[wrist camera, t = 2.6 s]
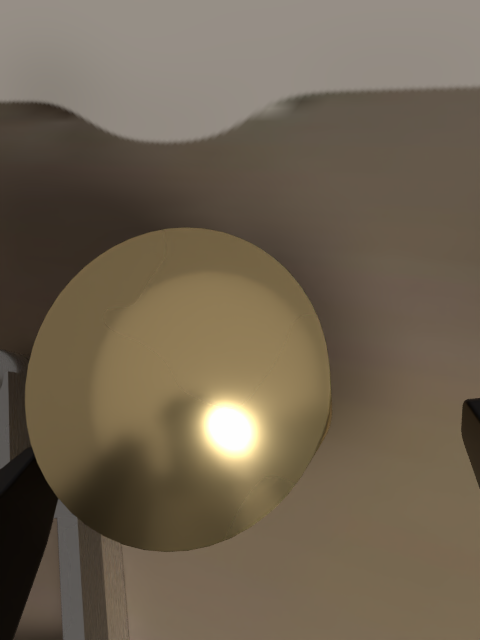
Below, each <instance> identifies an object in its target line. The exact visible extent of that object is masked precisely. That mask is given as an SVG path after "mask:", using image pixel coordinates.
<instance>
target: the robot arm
mask: <svg viewBox="0 0 480 640" xmlns="http://www.w3.org/2000/svg"><path fill="white" fill-rule="evenodd" d="M461 432H462V438H463V442H464V445H465V448H466V451H467V453H468V456H469V459H470V462H471V465H472V468H473V471H474V473H475V476H476V479H477V482H478V485H479V488H480V398H475V399H467V400H465V401H464V403H463V409H462V426H461ZM57 502H58V497H57V496H56V494H55V493H54V491H53V490H52V488H51V487H50V486H49V484H48V483H47V481H46V479H45V477H44V475H43V473H42V471H41V469H40V467H39V465H38V463H37V460H36V457H35V455H34V452H33V449H32V446H30V447H28V448H26V449H25V450H24V451H23V452H21V453H20V454H19V455H18V456H16V457H15V458H14V459H13V460H11V461H10V462H9V463H8V464H6V465H5V466H4V467H3V468H1V469H0V640H13V638H14V636H15V633H16V630H17V627H18V624H19V622H20V619H21V616H22V613H23V610H24V607H25V605H26V602H27V599H28V596H29V593H30V590H31V588H32V585H33V582H34V579H35V576H36V573H37V571H38V568H39V565H40V562H41V559H42V557H43V554H44V551H45V548H46V544H47V541H48V537H49V534H50V530H51V526H52V522H53V518H54V514H55V510H56V506H57Z"/></svg>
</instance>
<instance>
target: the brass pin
mask: <svg viewBox="0 0 480 640" xmlns="http://www.w3.org/2000/svg"><path fill="white" fill-rule="evenodd" d="M25 411H26V422H27V428H28V433H29V438H30V442H31V446H32V449H33V452H34V455H35V457H36V460H37V463H38V465H39V467H40V469H41V471H42V473H43V475H44V477H45V479H46V481H47V483H48V484H49V486H50V487H51V488H52V490H53V491H54V493H55V494H56V496H57V497H58V499H59V500H60V501H61V502H62V503H63V504H64V505H65V506H66V507H67V509H68V510H69V511H70V512H71V513H72V514H73V515H75V516H76V517H77V518H78V519H79V520H81V521H82V522H83V523H84V524H85V525H87V526H88V527H90V528H91V529H93V530H95V531H96V532H98V533H100V534H101V535H103V536H104V537H107V538H109V539H111V540H114V541H116V542H119V543H121V544H123V545H127V546H131V547H135V548H139V549H143V550H151V551H161V552H174V551H189V550H193V549H198V548H203V547H207V546H211V545H214V544H216V543H219V542H222V541H224V540H227V539H230V538H232V537H234V536H236V535H237V534H239V533H241V532H243V531H245V530H247V529H248V528H250V527H252V526H253V525H254V524H256V523H257V522H258V521H260V520H261V519H262V518H264V517H265V516H266V515H268V514H269V513H270V512H271V511H272V510H273V509H274V508H275V507H276V506H277V505H278V504H279V503H280V502H281V501H282V500H283V499H284V498H285V497H286V496H287V495H288V494H289V492H290V491H291V490H292V488H293V487H294V486H295V484H296V483H297V482H298V480H299V479H300V478H301V476H302V475H303V473H304V471H305V470H306V468H307V466H308V465H309V463H310V461H311V460H312V458H313V456H314V455H315V453H316V451H317V450H318V448H319V446H320V445H321V443H322V441H323V440H324V438H325V436H326V434H327V433H328V430H329V427H330V424H331V419H332V399H331V382H330V365H329V359H328V352H327V346H326V341H325V338H324V334H323V331H322V328H321V324H320V321H319V319H318V317H317V315H316V313H315V310H314V308H313V306H312V304H311V302H310V300H309V299H308V297H307V296H306V294H305V292H304V291H303V289H302V288H301V286H300V285H299V284H298V282H297V281H296V280H295V279H294V278H293V276H292V275H291V274H290V273H289V272H288V271H287V270H286V269H285V268H284V267H283V266H282V265H281V264H280V263H279V262H278V261H276V260H275V259H274V258H273V257H272V256H270V255H269V254H267V253H266V252H264V251H263V250H261V249H260V248H258V247H257V246H255V245H253V244H251V243H249V242H247V241H245V240H243V239H241V238H239V237H236V236H233V235H230V234H227V233H224V232H220V231H214V230H209V229H204V228H186V227H185V228H171V229H163V230H158V231H153V232H149V233H146V234H143V235H139V236H136V237H133V238H131V239H129V240H126V241H124V242H122V243H120V244H118V245H116V246H114V247H112V248H111V249H109V250H107V251H106V252H104V253H103V254H101V255H99V256H98V257H97V258H95V259H94V260H93V261H92V262H90V263H89V264H88V265H87V266H85V267H84V268H83V269H82V270H81V271H80V272H79V273H78V274H77V275H76V276H75V277H74V278H73V279H72V280H71V281H70V282H69V283H68V285H67V286H66V287H65V288H64V289H63V291H62V292H61V293H60V294H59V296H58V297H57V299H56V300H55V302H54V303H53V305H52V307H51V308H50V310H49V311H48V313H47V315H46V317H45V319H44V321H43V323H42V325H41V327H40V329H39V332H38V334H37V337H36V340H35V342H34V345H33V348H32V352H31V356H30V360H29V364H28V370H27V377H26V384H25Z"/></svg>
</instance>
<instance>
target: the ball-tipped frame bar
mask: <svg viewBox="0 0 480 640" xmlns="http://www.w3.org/2000/svg"><path fill="white" fill-rule="evenodd" d="M29 360H30V356H28V355H24V354H19V353H15V352H10V351H6V350H1V349H0V469H1V468H3V467H4V466H5V465H6V464H8V463H9V462H10V461H11V460H13V459H14V458H15V457H16V456H18V455H19V454H20V453H21V452H23V451H24V450H25V449H26V448H28V447H30V446H31V442H30V438H29V433H28V428H27V422H26V411H25V384H26V377H27V370H28V364H29ZM54 518H57V523H58V544H59V564H60V585H61V606H62V627H63V640H129V635H128V623H127V611H126V599H125V588H124V576H123V564H122V552H121V543H119V542H116V541H114V540H111V539H109V538H107V537H104V536H103V535H101V534H100V533H98V532H96V531H95V530H93V529H91V528H90V527H88V526H87V525H85V524H84V523H83V522H82V521H81V520H79V519H78V518H77V517H76V516H75V515H73V514H72V513H71V512H70V511H69V510H68V509H67V507H66V506H65V505H64V504H63V503H62V502H61V501H60V500H59V499H58V502H57V506H56V510H55V514H54Z"/></svg>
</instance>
